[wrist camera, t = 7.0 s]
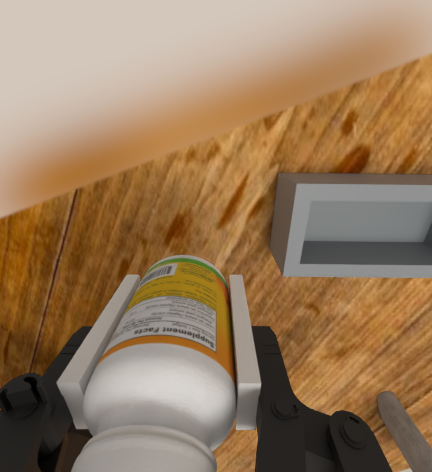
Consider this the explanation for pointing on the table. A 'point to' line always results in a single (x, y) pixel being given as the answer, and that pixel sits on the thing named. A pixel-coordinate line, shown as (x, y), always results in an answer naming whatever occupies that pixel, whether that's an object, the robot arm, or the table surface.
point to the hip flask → (405, 433)
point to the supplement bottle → (164, 376)
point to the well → (353, 225)
